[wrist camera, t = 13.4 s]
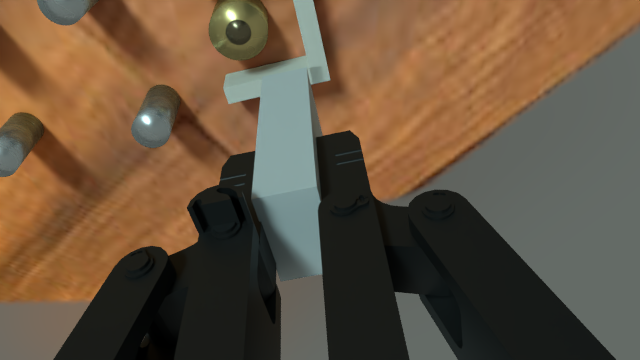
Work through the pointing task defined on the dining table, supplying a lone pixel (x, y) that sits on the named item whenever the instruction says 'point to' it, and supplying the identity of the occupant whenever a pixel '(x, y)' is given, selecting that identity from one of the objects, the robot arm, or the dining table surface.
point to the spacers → (26, 130)
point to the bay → (250, 80)
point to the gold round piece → (239, 28)
